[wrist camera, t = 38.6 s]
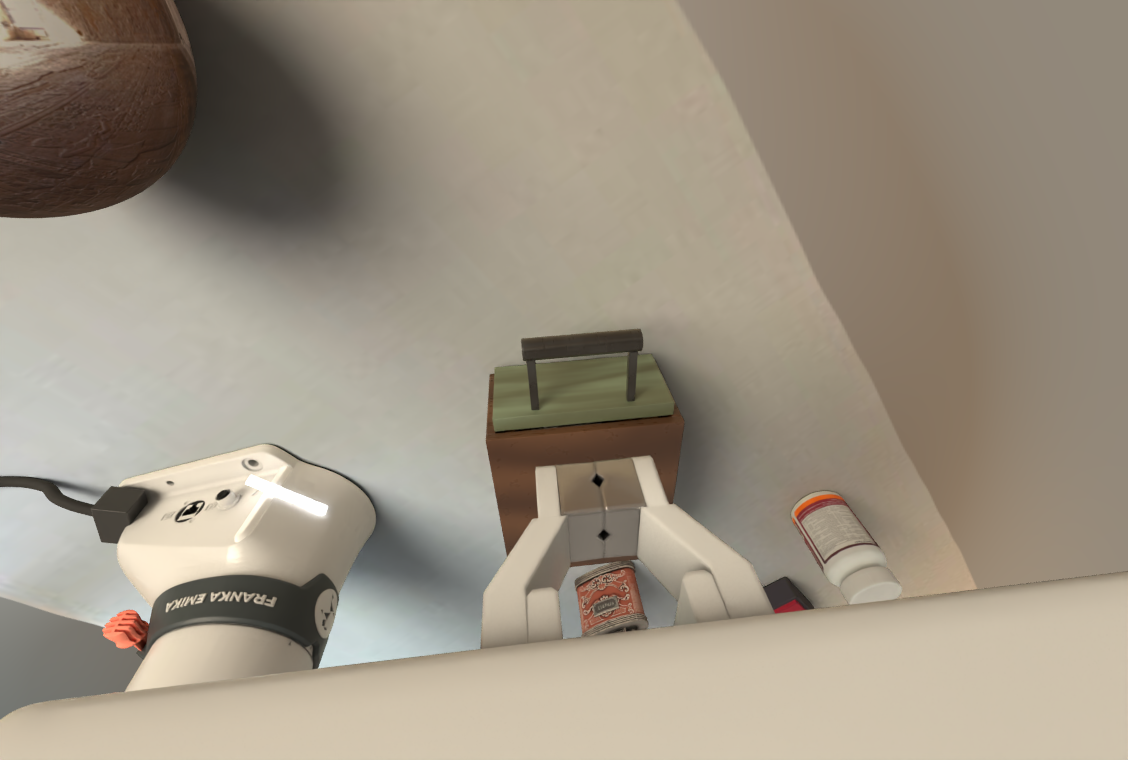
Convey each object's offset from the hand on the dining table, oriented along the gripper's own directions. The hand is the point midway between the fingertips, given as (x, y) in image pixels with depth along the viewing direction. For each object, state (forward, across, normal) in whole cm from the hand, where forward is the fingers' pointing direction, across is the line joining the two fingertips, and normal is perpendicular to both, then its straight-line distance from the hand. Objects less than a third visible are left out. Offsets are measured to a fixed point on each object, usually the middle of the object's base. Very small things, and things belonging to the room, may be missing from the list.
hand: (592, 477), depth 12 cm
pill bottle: (+25, +30, -36) cm, 53 cm away
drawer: (+24, +2, -17) cm, 30 cm away
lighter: (+25, +5, -45) cm, 52 cm away
